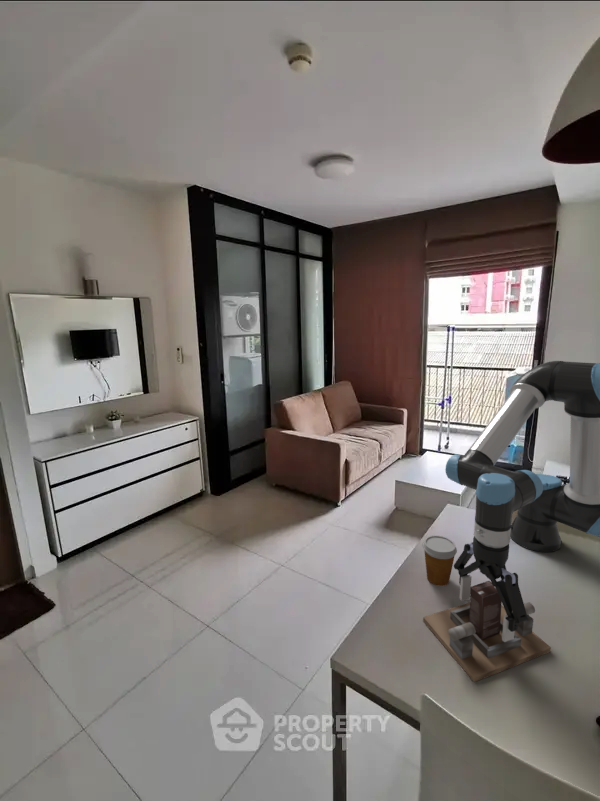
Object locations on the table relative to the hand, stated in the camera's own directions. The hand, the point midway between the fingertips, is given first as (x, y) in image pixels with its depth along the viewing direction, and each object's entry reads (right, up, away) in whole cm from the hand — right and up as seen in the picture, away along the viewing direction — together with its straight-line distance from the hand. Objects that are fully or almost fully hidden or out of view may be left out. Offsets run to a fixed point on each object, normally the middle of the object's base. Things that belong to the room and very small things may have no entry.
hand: (484, 617), depth 92 cm
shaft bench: (0, -5, +1) cm, 5 cm away
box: (0, -4, +1) cm, 4 cm away
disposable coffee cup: (-4, -1, +22) cm, 22 cm away
